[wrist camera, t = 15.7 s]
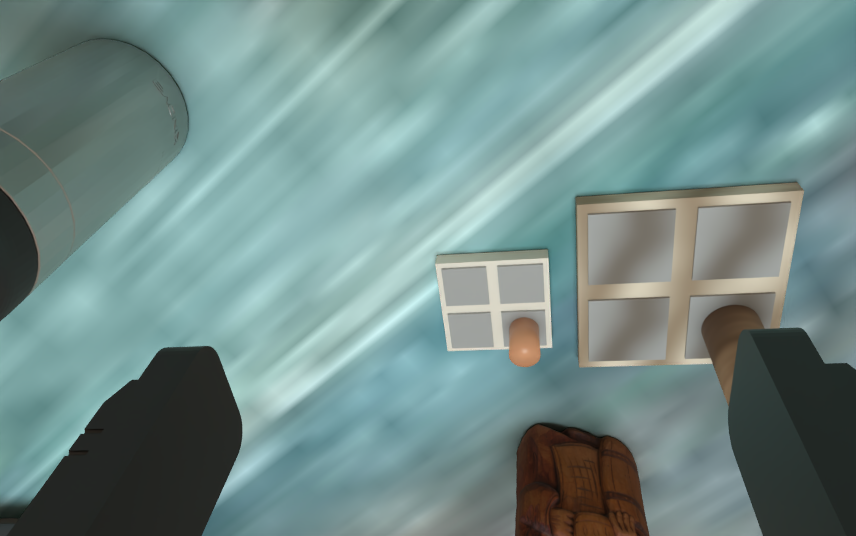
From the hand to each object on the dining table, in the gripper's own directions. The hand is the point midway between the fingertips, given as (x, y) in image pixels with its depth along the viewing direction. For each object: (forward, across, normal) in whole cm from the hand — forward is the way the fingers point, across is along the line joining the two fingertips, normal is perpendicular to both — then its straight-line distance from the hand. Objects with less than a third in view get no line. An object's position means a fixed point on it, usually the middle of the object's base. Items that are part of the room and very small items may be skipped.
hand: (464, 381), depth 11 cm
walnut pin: (+33, -15, +24) cm, 43 cm away
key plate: (+34, +2, +22) cm, 41 cm away
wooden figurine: (+34, -4, +39) cm, 52 cm away
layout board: (+34, -11, +21) cm, 42 cm away
